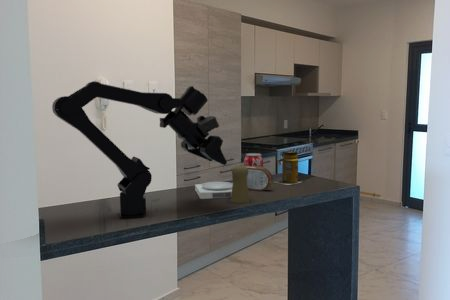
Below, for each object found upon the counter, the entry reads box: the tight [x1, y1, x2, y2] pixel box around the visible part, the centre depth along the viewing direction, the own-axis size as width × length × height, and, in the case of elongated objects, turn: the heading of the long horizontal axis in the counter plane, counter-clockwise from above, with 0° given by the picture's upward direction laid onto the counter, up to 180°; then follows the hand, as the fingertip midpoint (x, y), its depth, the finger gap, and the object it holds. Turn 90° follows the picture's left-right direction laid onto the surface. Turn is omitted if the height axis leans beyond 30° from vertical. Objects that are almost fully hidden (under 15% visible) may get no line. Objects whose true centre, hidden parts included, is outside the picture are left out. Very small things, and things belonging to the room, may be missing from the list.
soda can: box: [243, 152, 264, 167], centre depth 152 cm, size 7×7×12 cm
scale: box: [194, 181, 233, 200], centre depth 140 cm, size 14×14×3 cm
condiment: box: [275, 150, 302, 186], centre depth 159 cm, size 7×8×12 cm
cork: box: [230, 165, 250, 204], centre depth 129 cm, size 6×6×11 cm
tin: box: [231, 164, 274, 192], centre depth 147 cm, size 15×3×8 cm, turn 61°
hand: (218, 162), depth 125 cm, fingers open, 9 cm apart
